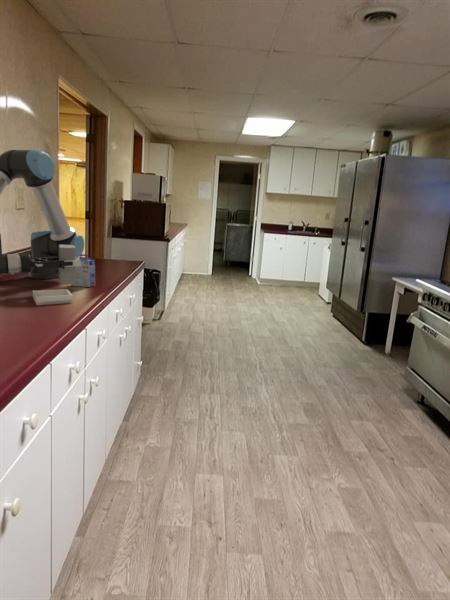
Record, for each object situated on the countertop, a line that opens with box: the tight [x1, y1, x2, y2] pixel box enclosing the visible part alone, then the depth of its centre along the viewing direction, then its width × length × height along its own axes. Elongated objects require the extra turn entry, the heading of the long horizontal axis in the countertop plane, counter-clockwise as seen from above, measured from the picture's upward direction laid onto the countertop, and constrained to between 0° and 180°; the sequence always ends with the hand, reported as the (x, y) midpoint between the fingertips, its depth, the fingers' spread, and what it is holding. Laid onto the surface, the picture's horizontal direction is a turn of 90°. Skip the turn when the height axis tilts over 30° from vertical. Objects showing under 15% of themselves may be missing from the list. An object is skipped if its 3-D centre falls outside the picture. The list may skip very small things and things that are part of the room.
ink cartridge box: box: [70, 253, 96, 288], centre depth 197 cm, size 10×6×14 cm, turn 78°
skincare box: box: [58, 245, 76, 286], centre depth 179 cm, size 8×7×16 cm
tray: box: [32, 288, 74, 306], centre depth 168 cm, size 13×13×3 cm
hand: (78, 261), depth 181 cm, fingers closed on skincare box, 8 cm apart
